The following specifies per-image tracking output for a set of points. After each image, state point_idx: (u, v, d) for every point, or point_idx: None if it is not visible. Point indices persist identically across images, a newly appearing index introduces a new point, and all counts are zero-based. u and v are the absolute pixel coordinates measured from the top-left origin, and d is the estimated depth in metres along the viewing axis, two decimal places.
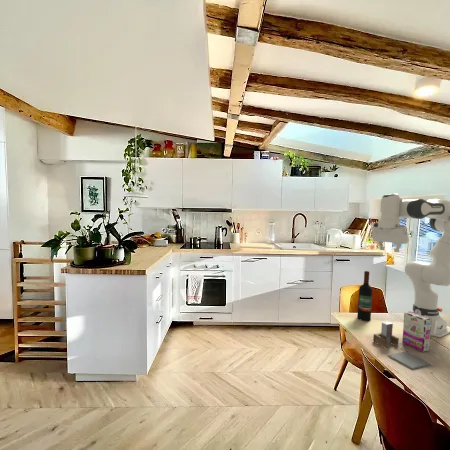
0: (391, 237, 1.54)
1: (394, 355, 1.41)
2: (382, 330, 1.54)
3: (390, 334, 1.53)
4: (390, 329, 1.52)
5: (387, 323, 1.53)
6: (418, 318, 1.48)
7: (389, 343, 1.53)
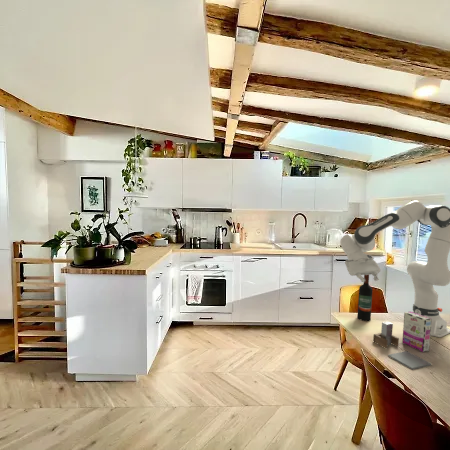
0: None
1: (394, 355, 1.41)
2: (382, 330, 1.54)
3: (390, 334, 1.53)
4: (390, 329, 1.52)
5: (387, 323, 1.53)
6: (418, 318, 1.48)
7: (389, 343, 1.53)
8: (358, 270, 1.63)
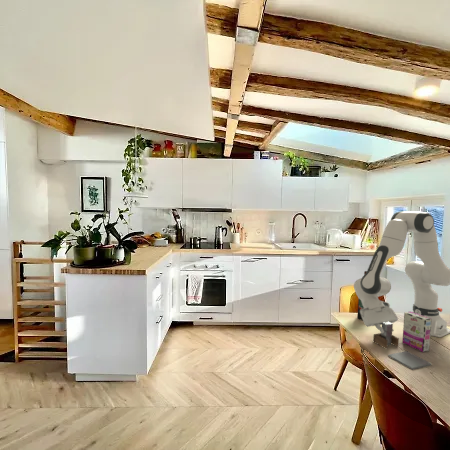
0: None
1: (394, 355, 1.41)
2: None
3: (390, 334, 1.53)
4: (390, 329, 1.52)
5: (387, 323, 1.53)
6: (418, 318, 1.48)
7: (389, 343, 1.53)
8: (374, 321, 1.53)
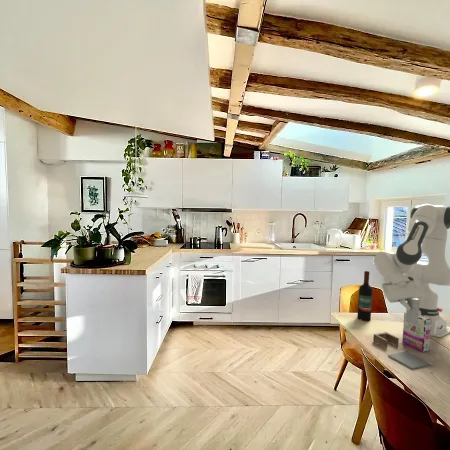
0: None
1: (394, 355, 1.41)
2: None
3: (417, 311, 1.35)
4: (417, 305, 1.35)
5: (413, 298, 1.35)
6: (418, 318, 1.48)
7: (416, 321, 1.35)
8: (399, 296, 1.36)
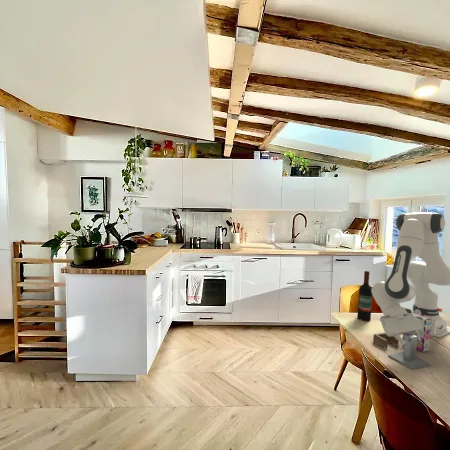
0: None
1: (394, 355, 1.41)
2: None
3: (414, 348, 1.36)
4: (414, 342, 1.36)
5: (411, 336, 1.36)
6: (418, 318, 1.48)
7: (413, 358, 1.37)
8: (397, 330, 1.37)
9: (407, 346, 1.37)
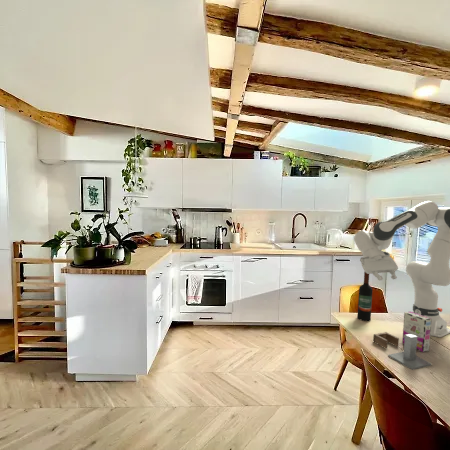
0: None
1: (394, 355, 1.41)
2: (405, 343, 1.37)
3: (414, 348, 1.36)
4: (414, 342, 1.36)
5: (411, 336, 1.36)
6: (418, 318, 1.48)
7: (413, 358, 1.37)
8: (374, 268, 1.53)
9: (407, 346, 1.37)
